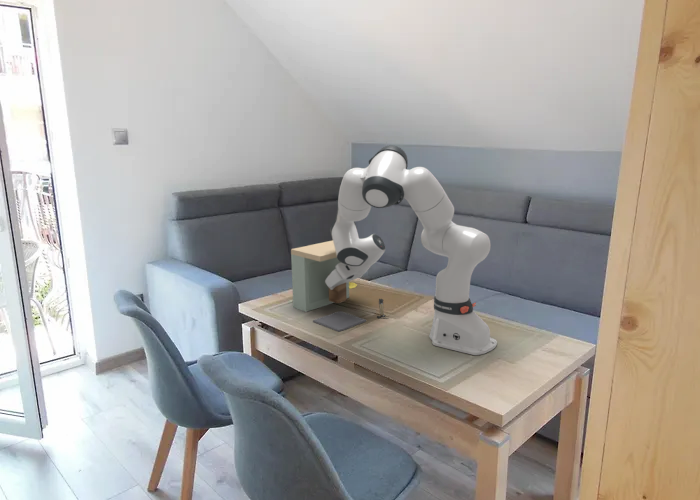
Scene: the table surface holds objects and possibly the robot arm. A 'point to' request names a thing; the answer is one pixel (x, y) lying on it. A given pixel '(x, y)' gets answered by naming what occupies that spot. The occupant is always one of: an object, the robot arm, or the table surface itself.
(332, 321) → the mat
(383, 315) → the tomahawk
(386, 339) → the table surface
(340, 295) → the walnut block
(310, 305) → the cabinet
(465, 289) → the robot arm
